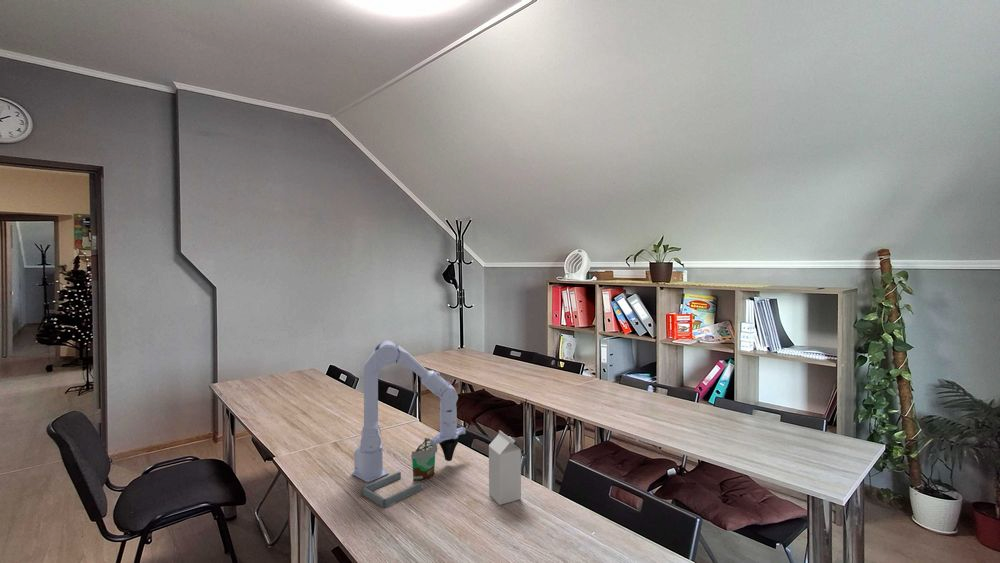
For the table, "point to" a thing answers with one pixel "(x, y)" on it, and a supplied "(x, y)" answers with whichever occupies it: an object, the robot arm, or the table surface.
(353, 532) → the table surface
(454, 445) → the robot arm
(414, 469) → the food container
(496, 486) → the milk carton
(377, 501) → the u-shaped bracket
